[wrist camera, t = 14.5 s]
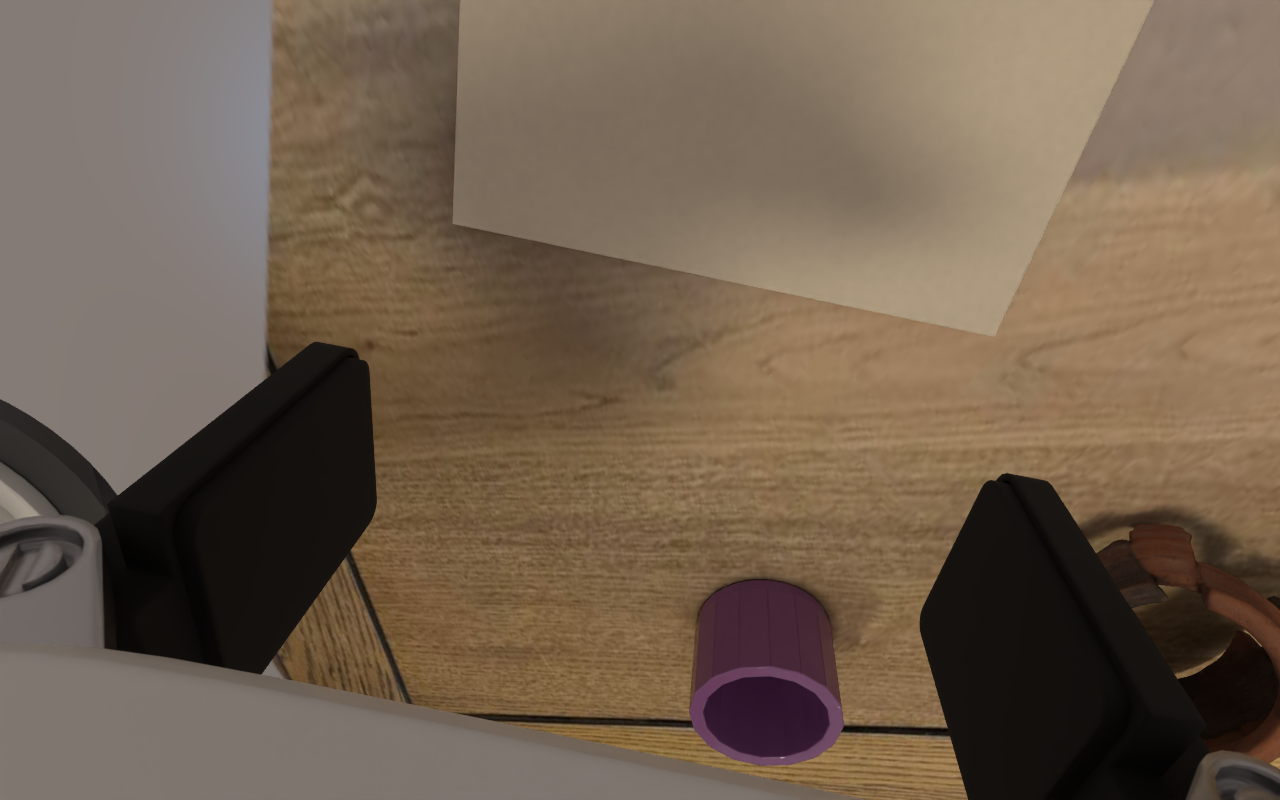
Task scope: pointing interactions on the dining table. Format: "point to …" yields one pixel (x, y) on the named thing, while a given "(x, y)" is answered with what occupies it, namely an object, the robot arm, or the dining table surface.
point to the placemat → (789, 137)
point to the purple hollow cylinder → (765, 675)
